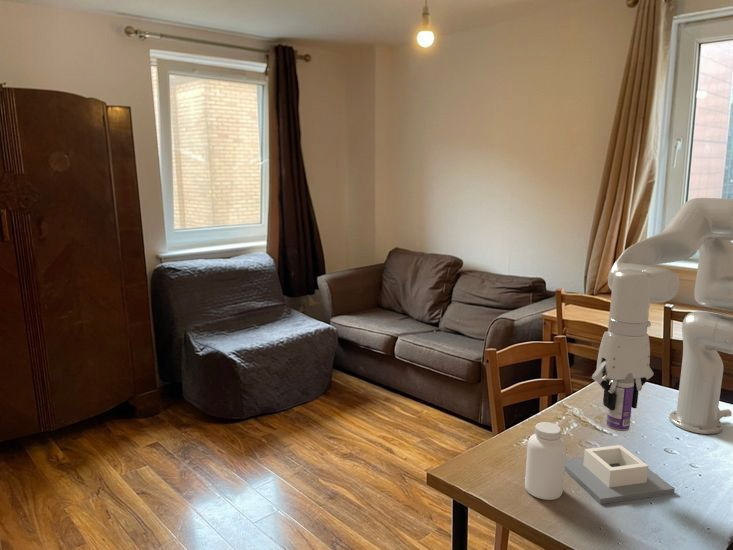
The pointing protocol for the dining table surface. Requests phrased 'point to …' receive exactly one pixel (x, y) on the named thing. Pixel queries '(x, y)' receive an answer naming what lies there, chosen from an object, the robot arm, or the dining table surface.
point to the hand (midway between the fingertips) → (619, 406)
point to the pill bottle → (545, 462)
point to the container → (622, 405)
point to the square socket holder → (615, 475)
